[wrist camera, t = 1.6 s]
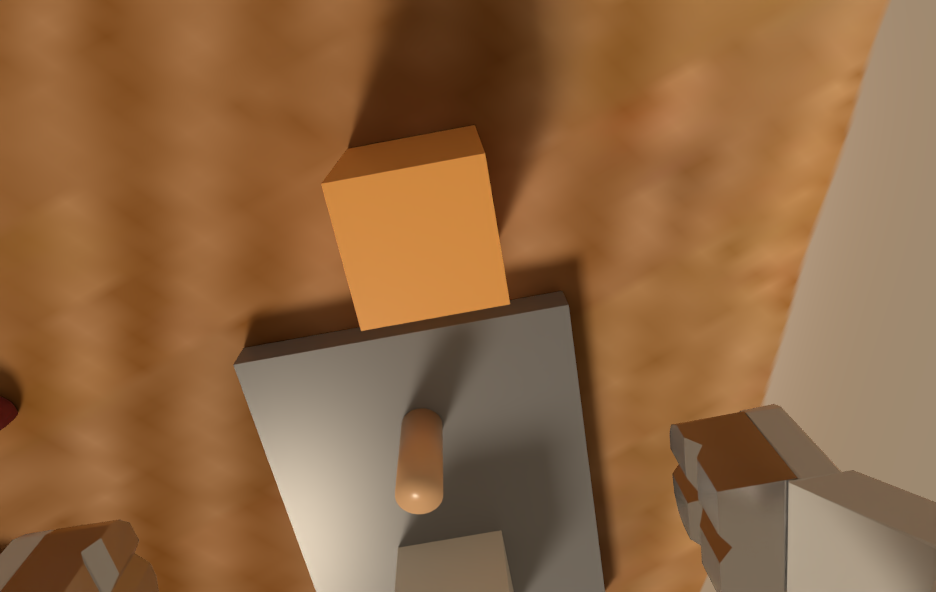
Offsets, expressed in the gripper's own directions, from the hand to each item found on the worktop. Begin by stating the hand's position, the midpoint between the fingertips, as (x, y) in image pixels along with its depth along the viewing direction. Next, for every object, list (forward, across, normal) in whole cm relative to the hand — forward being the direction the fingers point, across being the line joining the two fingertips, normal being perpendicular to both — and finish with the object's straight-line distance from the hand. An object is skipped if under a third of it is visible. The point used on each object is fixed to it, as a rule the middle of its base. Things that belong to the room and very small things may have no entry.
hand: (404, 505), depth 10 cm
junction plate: (+18, +2, +14) cm, 22 cm away
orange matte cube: (+18, 0, 0) cm, 18 cm away
